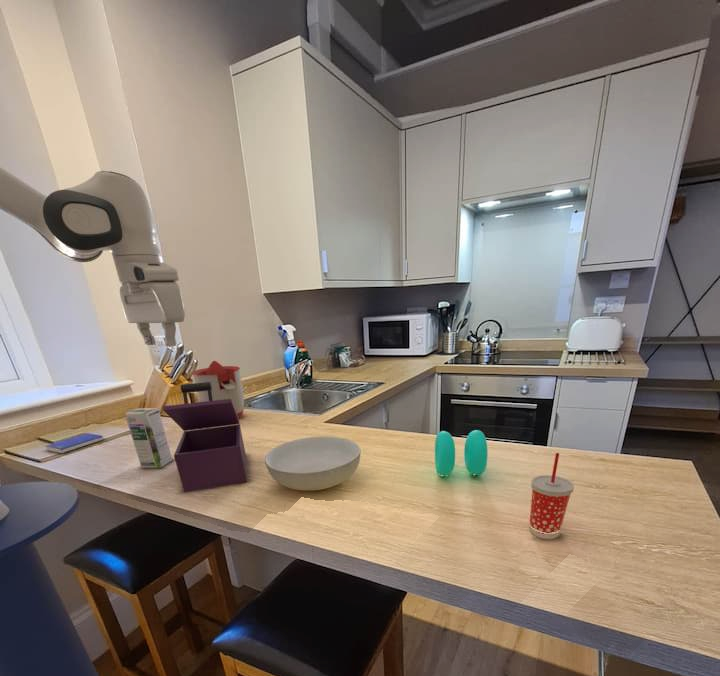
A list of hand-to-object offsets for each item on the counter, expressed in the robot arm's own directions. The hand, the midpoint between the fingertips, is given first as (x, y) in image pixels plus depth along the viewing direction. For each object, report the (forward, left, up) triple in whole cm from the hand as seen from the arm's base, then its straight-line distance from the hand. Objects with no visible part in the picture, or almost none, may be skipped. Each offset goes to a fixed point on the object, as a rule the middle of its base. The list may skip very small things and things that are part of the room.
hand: (160, 345), depth 85 cm
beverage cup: (+20, -78, -30) cm, 86 cm away
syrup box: (-3, +12, -30) cm, 32 cm away
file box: (+3, -7, -30) cm, 31 cm away
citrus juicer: (+32, +33, -30) cm, 55 cm away
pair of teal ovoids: (+33, -56, -30) cm, 71 cm away
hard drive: (-10, +51, -30) cm, 60 cm away
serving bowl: (+13, -31, -30) cm, 45 cm away
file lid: (+3, -6, -16) cm, 18 cm away
